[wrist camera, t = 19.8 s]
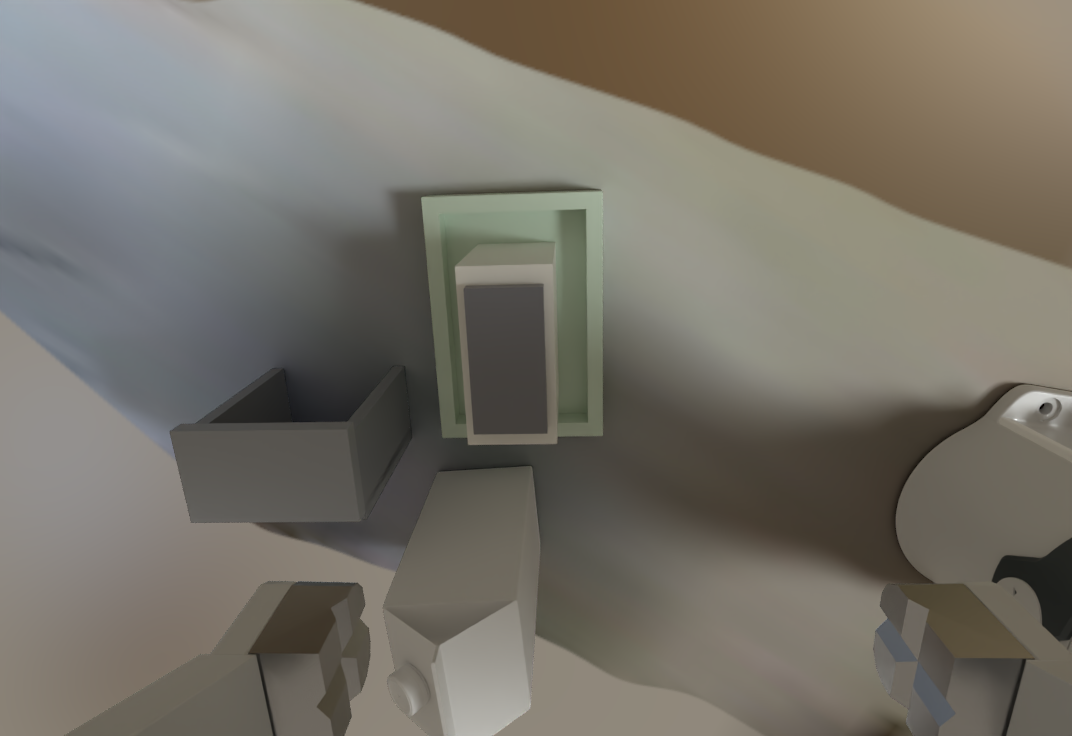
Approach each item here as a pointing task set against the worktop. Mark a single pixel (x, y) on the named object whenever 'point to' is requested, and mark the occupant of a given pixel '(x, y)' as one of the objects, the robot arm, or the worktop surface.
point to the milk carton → (467, 604)
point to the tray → (578, 282)
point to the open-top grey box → (291, 456)
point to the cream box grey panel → (509, 343)
